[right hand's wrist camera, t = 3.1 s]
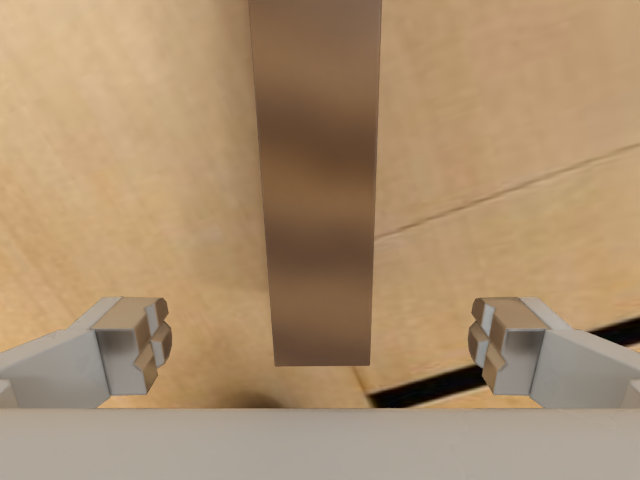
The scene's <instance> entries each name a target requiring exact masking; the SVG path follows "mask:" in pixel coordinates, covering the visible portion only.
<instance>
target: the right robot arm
mask: <svg viewBox="0 0 640 480" xmlns="http://www.w3.org/2000/svg"><path fill="white" fill-rule="evenodd" d="M167 315H168V308H167V303H166V301H165V300H164V299H163V298H146V297H103V298H101V299H100V300H99V301H98V302H97V303H95V304H94V305H93V306H92V307H91V308H90V309H89V310H88V311H86V312H85V313H84V314H83V315H82V316H81V317H80V318H78V319H77V320H76V321H75V322H74V323H73V324H72V325H71V326H69V327H68V328H67V329H66V330H57V331H55V332H52V333H50V334H47V335H45V336H42V337H40V338H37V339H35V340H32V341H30V342H27V343H24V344H22V345H19V346H17V347H14V348H12V349H9V350H7V351H4V352H2V353H0V480H640V353H638V352H636V351H633V350H631V349H628V348H626V347H623V346H621V345H618V344H615V343H613V342H610V341H608V340H605V339H603V338H600V337H598V336H595V335H593V334H590V333H588V332H585V331H583V330H574V329H573V328H572V327H571V326H569V325H568V324H567V323H566V322H565V321H564V320H563V319H562V318H560V317H559V316H558V315H557V314H556V313H555V312H554V311H553V310H551V309H550V308H549V307H548V306H547V305H546V304H545V303H544V302H542V301H541V300H540V299H539V298H537V297H496V298H477V299H475V301H474V303H473V307H472V315H473V316H474V318H475V319H476V321H475V322H474V323H473V324H472V325H471V326H470V328H469V333H468V346H469V351H470V354H471V357H472V359H473V361H474V363H475V364H477V365H478V366H480V367H481V368H483V374H482V376H483V378H484V379H485V381H486V383H487V384H488V386H489V388H490V389H491V391H492V393H493V394H494V395H523V396H530V398H531V399H533V400H534V401H535V402H537V403H538V404H539V405H541V406H542V407H543V408H97V407H98V406H99V405H101V404H102V403H103V402H105V401H106V400H108V399H109V398H110V396H117V395H146V394H147V393H148V391H149V389H150V388H151V386H152V384H153V383H154V381H155V379H156V378H157V376H158V374H157V368H159V367H160V366H162V365H163V364H165V363H166V361H167V359H168V357H169V355H170V351H171V347H172V333H171V328H170V326H169V325H168V324H167V323H166V322H165V321H164V319H165V318H166V316H167Z"/></svg>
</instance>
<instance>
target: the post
mask: <svg viewBox="0 0 640 480" xmlns="http://www.w3.org/2000/svg"><path fill="white" fill-rule="evenodd" d="M381 9H382V0H249V14H250V28H251V42H252V56H253V70H254V84H255V97H256V111H257V125H258V139H259V153H260V167H261V181H262V195H263V209H264V222H265V236H266V250H267V264H268V278H269V292H270V306H271V320H272V334H273V347H274V361H275V366H369V365H370V345H371V314H372V284H373V253H374V223H375V192H376V162H377V131H378V101H379V70H380V39H381Z"/></svg>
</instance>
